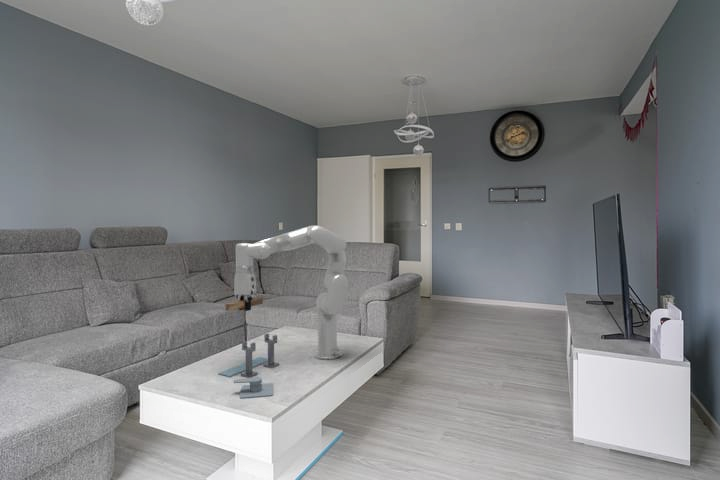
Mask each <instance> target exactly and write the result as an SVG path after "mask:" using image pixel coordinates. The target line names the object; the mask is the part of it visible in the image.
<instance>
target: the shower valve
mask: <svg viewBox="0 0 720 480" xmlns="http://www.w3.org/2000/svg"><path fill="white" fill-rule="evenodd" d="M262 379H263V378H262V377H260V376H259V377H258V376H253V377H251V378H246V377H243V378H237V379H234V380H233V384H244V385H242V386H241V389H240V393H239V399H241V400H243V399H244V400H245V399H254V398H256V399H257V398H266V397H268V398H269V397H273V396H274V383H273V382H268V383H263V380H262ZM247 383H249V384H247Z"/></svg>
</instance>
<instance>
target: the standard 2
mask: <svg viewBox="0 0 720 480" xmlns="http://www.w3.org/2000/svg"><path fill="white" fill-rule="evenodd" d="M263 339H264V343H267V358H268V362H266V363H263V364H262V365H263V367H264V368H269V369H273V368H275V367H276V368H277V367H278V366H280V363H279V362H275V344H277V343H278V335H277V334H274V335H272V339H270V333H265V334H264V337H263Z"/></svg>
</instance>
